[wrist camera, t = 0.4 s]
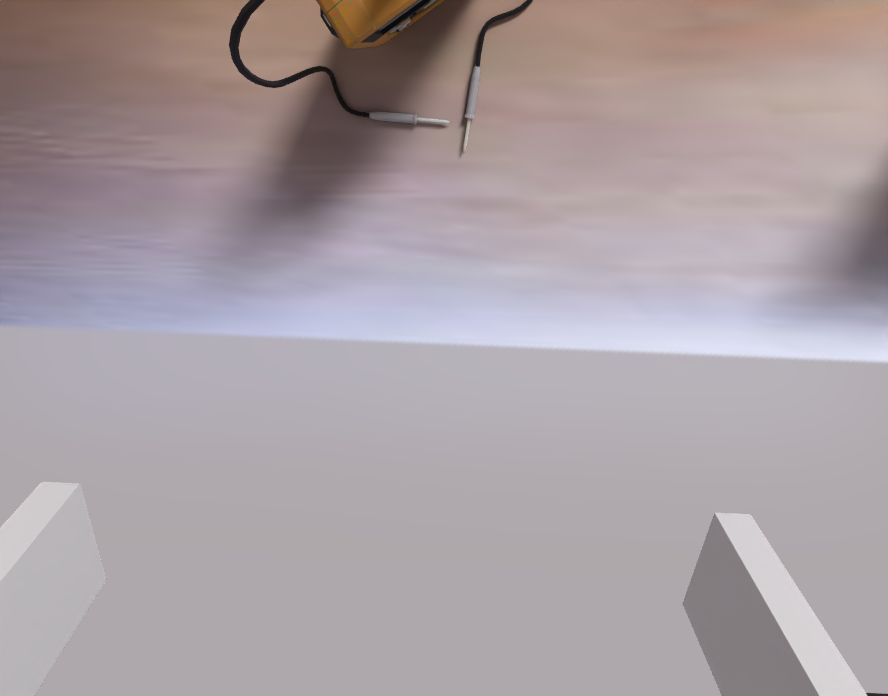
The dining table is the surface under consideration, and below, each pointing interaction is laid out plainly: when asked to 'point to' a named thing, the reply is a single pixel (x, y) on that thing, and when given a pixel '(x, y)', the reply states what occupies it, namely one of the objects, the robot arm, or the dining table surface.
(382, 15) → the multimeter
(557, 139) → the dining table surface
